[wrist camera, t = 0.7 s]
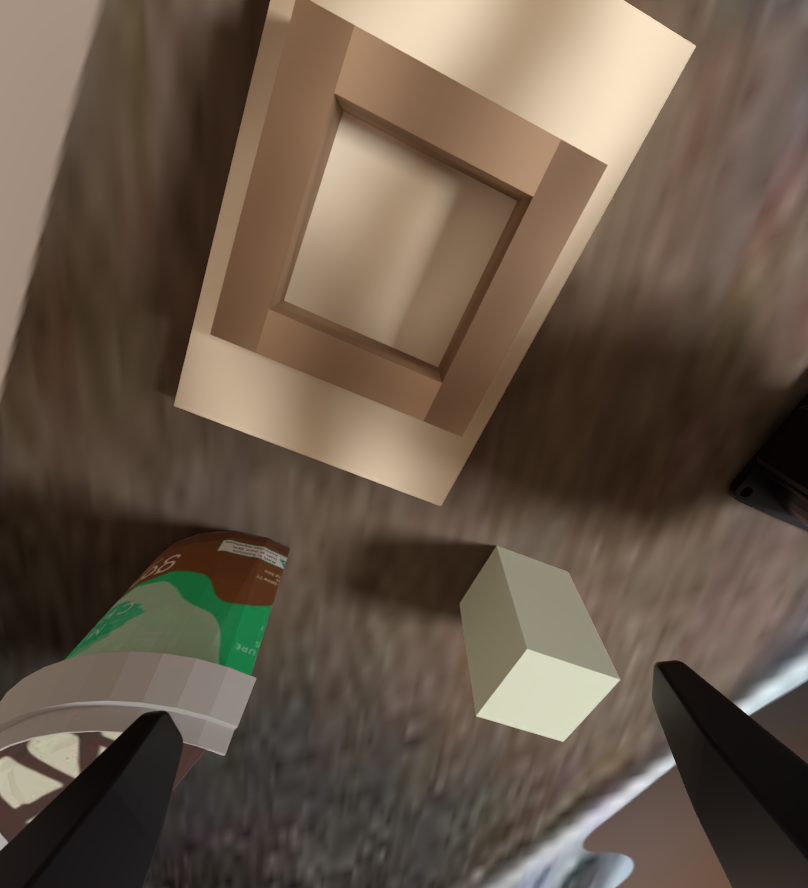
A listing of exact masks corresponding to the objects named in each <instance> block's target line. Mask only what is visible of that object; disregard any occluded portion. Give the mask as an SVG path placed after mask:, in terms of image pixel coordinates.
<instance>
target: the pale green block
mask: <svg viewBox="0 0 808 888" xmlns="http://www.w3.org/2000/svg"><path fill="white" fill-rule="evenodd" d="M459 605H460V612H461V619H462V625H463V632H464V639H465V645H466V652H467V659H468V666H469V672H470V679H471V686H472V692H473V699H474V706H475V713H476V716H478V717H481V718H484V719H488V720H491V721H495V722H498V723H501V724H505V725H508V726H512V727H515V728H518V729H522V730H525V731H528V732H532V733H535V734H539V735H542V736H545V737H549V738H552V739H556V740H559V741H562V742H564V740H565V739H566V738H567V737H568V736H569V735H570V734H571V733H572V732H573V731H574V730H575V728H576V727H577V726H578V725H579V724H580V723H581V722H582V721H583V720H584V719H585V718H586V716H587V715H588V714H589V713H590V712H591V711H592V710H593V709H594V708H595V707H596V706H597V705H598V703H599V702H600V701H601V700H602V699H603V698H604V697H605V696H606V695H607V694H608V693H609V691H610V690H611V689H612V688H613V687H614V686H615V685H616V684H617V683H618V682H619V681H620V678H619V676H618V674H617V672H616V670H615V668H614V666H613V663H612V661H611V659H610V657H609V655H608V653H607V651H606V649H605V647H604V645H603V643H602V641H601V639H600V637H599V635H598V632H597V630H596V628H595V626H594V624H593V622H592V620H591V618H590V616H589V614H588V612H587V610H586V608H585V606H584V604H583V601H582V599H581V597H580V595H579V593H578V591H577V589H576V587H575V585H574V583H573V581H572V579H571V577H570V575H569V572H567V571H564V570H562V569H559V568H556V567H553V566H551V565H548V564H545V563H543V562H540V561H537V560H534V559H532V558H529V557H526V556H524V555H521V554H518V553H515V552H513V551H510V550H507V549H505V548H502V547H499V546H496V547H495V549H494V550H493V552H492V554H491V555H490V557H489V558H488V560H487V561H486V563H485V564H484V566H483V568H482V569H481V571H480V572H479V574H478V575H477V577H476V578H475V580H474V582H473V583H472V585H471V586H470V588H469V589H468V591H467V593H466V594H465V596H464V597H463V599H462V600H461V602H460V603H459Z"/></svg>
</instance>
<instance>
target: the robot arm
mask: <svg viewBox="0 0 808 888" xmlns="http://www.w3.org/2000/svg"><path fill="white" fill-rule="evenodd" d="M744 488H746V489H745V490H744V491H743V492H741V491H742V490H743V489H744ZM729 493H730V495H732V496H733V497H734V498H735V499H737V500H738V501H739V502H742V503H744V504H746V505H749V506H751V507H753V508H756V509H758V510H760V511H763V512H765V513H767V514H770V515H772V516H774V517H777V518H779V519H781V520H783V521H786V522H788V523H790V524H793V525H795V526H797V527H800V528H802V529H804V530H807V531H808V394H807V395H806V397H805V398H804V399H803V400H802V401H801V402H800V404H799V405H798V406H797V407H796V408H795V410H794V411H793V412H792V413H791V414H790V415H789V417H788V418H787V419H786V420H785V421H784V422H783V424H782V425H781V426H780V427H779V428H778V430H777V431H776V432H775V433H774V434H773V435H772V437H771V438H770V439H769V440H768V441H767V443H766V444H765V445H764V446H763V447H762V448H761V450H760V451H759V452H758V453H757V454H756V455H755V457H754V458H753V459H752V460H751V461H750V463H749V464H748V465H747V466H746V467H745V468H744V470H743V471H742V472H741V473H740V474H739V476H738V477H737V478H736V479H735V480H734V481H733V483H732V484H731V485H730V487H729ZM652 700H653V704H654V707H655V710H656V713H657V715H658V718H659V720H660V723H661V726H662V728H663V731H664V733H665V736H666V739H667V741H668V744H669V746H670V749H671V752H672V754H673V757H674V759H675V762H676V765H677V767H678V770H679V772H680V775H681V778H682V780H683V783H684V785H685V788H686V791H687V793H688V796H689V798H690V801H691V803H692V805H693V808H694V810H695V812H696V814H697V817H698V819H699V821H700V823H701V825H702V827H703V829H704V831H705V833H706V835H707V837H708V839H709V841H710V844H711V846H712V848H713V850H714V852H715V854H716V856H717V858H718V860H719V862H720V864H721V866H722V868H723V870H724V872H725V874H726V876H727V878H728V880H729V882H730V884H731V886H732V888H808V764H807V763H806V762H805V761H803V760H802V759H801V758H800V757H799V756H797V755H796V754H795V753H794V752H792V751H791V750H790V749H789V748H787V747H786V746H785V745H784V744H783V743H781V742H780V741H779V740H778V739H776V738H775V737H774V736H773V735H772V734H770V733H769V732H768V731H766V730H765V729H764V728H763V727H762V726H760V725H759V724H758V723H757V722H756V721H754V720H753V719H752V718H751V717H749V716H748V715H747V714H746V713H745V712H743V711H742V710H741V709H740V708H738V707H737V706H736V705H735V704H733V703H732V702H731V701H730V700H729V699H727V698H726V697H725V696H724V695H722V694H721V693H720V692H719V691H718V690H716V689H715V688H714V687H713V686H711V685H710V684H709V683H708V682H706V681H705V680H704V679H703V678H702V677H700V676H699V675H698V674H697V673H695V672H694V671H693V670H692V669H691V668H689V667H688V666H687V665H686V664H684V663H683V662H680V661H677V660H673V661H663V662H657V663H656V664H655V665H654V669H653V682H652ZM182 750H183V737H182V735H181V733H180V731H179V729H178V728H177V726H176V724H175V723H174V721H173V719H172V718H171V716H170V714H169V713H168V712H167V711H164V710H162V711H152V712H146V713H144V714H142V715H141V716H140V717H138V718H137V719H136V720H135V721H134V722H133V723H132V724H131V725H130V726H129V727H128V728H127V729H126V730H125V731H124V732H123V733H122V734H121V735H120V736H119V737H118V738H117V739H116V740H114V741H113V742H112V743H111V744H110V745H109V746H108V747H107V748H106V749H105V750H104V751H103V752H102V753H101V754H100V755H99V756H98V757H97V758H96V759H95V760H94V761H93V762H92V763H91V764H90V765H89V766H87V767H86V768H85V769H84V770H83V771H82V772H81V773H80V774H79V775H78V776H77V777H76V778H75V779H74V780H73V781H72V782H71V783H70V784H69V785H68V786H67V787H66V788H65V789H64V790H63V791H62V792H60V793H59V794H58V795H57V796H56V797H55V798H54V799H53V800H52V801H51V802H50V803H49V804H48V805H47V806H46V807H45V808H44V809H43V810H42V811H41V812H40V813H39V814H38V815H37V816H36V817H34V818H33V819H32V820H31V821H30V822H29V823H28V824H27V825H26V826H25V827H24V828H23V829H22V830H21V831H20V832H19V833H18V834H17V835H16V836H15V837H14V838H13V839H12V840H11V841H10V842H9V843H7V844H6V845H5V846H4V847H3V848H2V849H1V850H0V888H143V885H144V882H145V880H146V877H147V874H148V871H149V868H150V865H151V862H152V859H153V856H154V853H155V850H156V847H157V844H158V841H159V837H160V834H161V830H162V827H163V823H164V819H165V815H166V812H167V808H168V804H169V800H170V796H171V793H172V789H173V785H174V781H175V777H176V773H177V770H178V766H179V762H180V758H181V754H182Z"/></svg>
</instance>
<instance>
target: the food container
mask: <svg viewBox="0 0 808 888" xmlns="http://www.w3.org/2000/svg"><path fill="white" fill-rule="evenodd" d="M289 551H290V548H288V547H286V546H284V545H282V544H280V543H277V542H275V541H273V540H271V539H269V538H265V537H260V536H255V535H251V534H246V533H241V532H237V531H228V532H203V533H200V534H197V535H194V536H191V537H188V538H185V539H183V540H180V541H177V542H175V543H174V544H173V545H171V546H170V547H169V548H167V549H166V550H165V551H163V552H162V553H161V554H160V555H159V556H158V557H157V558H156V559H155V560H154V561H153V563H152V564H151V565H150V566H149V567H148V568H147V569H146V570H145V571H144V573H143V574H142V575H141V576H140V577H139V578H138V579H137V580H136V581H135V582H134V584H133V585H132V586H131V587H130V588H129V589H128V590H127V591H126V592H125V593H124V595H123V596H122V597H121V598H120V599H119V600H118V601H117V602H116V603H115V605H114V606H113V607H112V608H111V609H110V610H109V611H108V612H107V613H106V614H105V616H104V617H103V618H102V619H101V620H100V621H99V622H98V623H97V624H96V625H95V627H94V628H93V629H92V630H91V631H90V632H89V633H88V634H87V635H86V637H85V638H84V639H83V640H82V641H81V642H80V643H79V644H78V645H77V646H76V648H75V649H74V650H73V651H72V652H71V653H70V654H69V655H68V656H67V657H66V659H65V660H64V661H61V662H58V663H55V664H52V665H49V666H46V667H44V668H42V669H40V670H38V671H36V672H35V673H33V674H31V675H29V676H27V677H25V678H23V679H22V680H21V681H20V682H19V683H18V684H16V685H15V686H14V687H13V688H12V689H10V690H9V691H8V692H7V693H6V695H5V696H4V697H3V699H2V700H1V702H0V850H1V849H2V848H3V847H4V846H5V845H6V844H7V843H9V842H10V841H11V840H12V839H13V838H14V837H15V836H16V835H17V834H18V833H19V832H20V831H21V830H22V829H23V828H24V827H25V826H26V825H27V824H28V823H29V822H30V821H31V820H32V819H33V818H34V817H36V816H37V815H38V814H39V813H40V812H41V811H42V810H43V809H44V808H45V807H46V806H47V805H48V804H49V803H50V802H51V801H52V800H53V799H54V798H55V797H56V796H57V795H58V794H59V793H60V792H62V791H63V790H64V789H65V788H66V787H67V786H68V785H69V784H70V783H71V782H72V781H73V780H74V779H75V778H76V777H77V776H78V775H79V774H80V773H81V772H82V771H83V770H84V769H85V768H86V767H87V766H89V765H90V764H91V763H92V762H93V761H94V760H95V759H96V758H97V757H98V756H99V755H100V754H101V753H102V752H103V751H104V750H105V749H106V748H107V747H108V746H109V745H110V744H111V743H112V742H113V741H114V740H116V739H117V738H118V737H119V736H120V735H121V734H122V733H123V732H124V731H125V730H126V729H127V728H128V727H129V726H130V725H131V724H132V723H133V722H134V721H135V720H136V719H137V718H138V717H140V716H141V715H142V714H144V713H146V712H152V711H162V710H164V711H167V712H168V713H169V714H170V716H171V718H172V719H173V721H174V723H175V724H176V726H177V728H178V729H179V731H180V733H181V735H182V737H183V750H182V754H181V758H180V762H179V766H178V770H177V773H176V777H175V781H174V785H173V789H172V791H173V790H174V789H175V787H176V786H177V785H178V784H179V782H180V781H181V780H182V779H183V777H184V776H185V775H186V774H187V772H188V771H189V770H190V769H191V768H192V767H193V765H194V764H195V763H196V762H197V761H198V760H199V758H200V757H201V756H202V755H203V754H204V753H205V752H206V750H209V751H212V752H215V753H217V754H220V755H223V756H225V754H226V752H227V749H228V746H229V743H230V740H231V738H232V735H233V732H234V730H235V729H236V728H237V727H238V724H239V722H240V719H241V717H242V714H243V711H244V709H245V706H246V704H247V701H248V699H249V696H250V693H251V691H252V688H253V686H254V683H255V681H256V678H255V677H252V676H251V673H252V670H253V667H254V664H255V660H256V657H257V654H258V651H259V648H260V644H261V641H262V638H263V635H264V631H265V628H266V625H267V622H268V619H269V615H270V612H271V609H272V606H273V602H274V599H275V596H276V593H277V589H278V586H279V583H280V580H281V577H282V573H283V570H284V567H285V564H286V560H287V557H288V554H289Z"/></svg>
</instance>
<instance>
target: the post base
mask: <svg viewBox="0 0 808 888" xmlns="http://www.w3.org/2000/svg"><path fill="white" fill-rule="evenodd" d="M695 47H696V46H695V45H694V44H692V43H690V42H689V41H687V40H686V39H684V38H683V37H681V36H679V35H678V34H676V33H675V32H673V31H671V30H670V29H668V28H667V27H665V26H663V25H662V24H660V23H659V22H657V21H655V20H654V19H652V18H651V17H649V16H648V15H646V14H644V13H643V12H641V11H640V10H638V9H636V8H635V7H633V6H632V5H630V4H628V3H627V2H625V1H624V0H270V4H269V8H268V12H267V16H266V21H265V25H264V29H263V33H262V37H261V42H260V46H259V50H258V54H257V58H256V63H255V67H254V71H253V75H252V79H251V84H250V88H249V92H248V96H247V100H246V105H245V109H244V113H243V117H242V121H241V126H240V130H239V134H238V138H237V142H236V147H235V151H234V155H233V159H232V163H231V168H230V172H229V176H228V180H227V184H226V189H225V193H224V197H223V201H222V206H221V210H220V214H219V218H218V222H217V227H216V231H215V235H214V239H213V243H212V248H211V252H210V256H209V260H208V264H207V269H206V273H205V277H204V281H203V285H202V290H201V294H200V298H199V302H198V306H197V311H196V315H195V319H194V323H193V327H192V332H191V336H190V340H189V344H188V348H187V353H186V357H185V361H184V365H183V369H182V374H181V378H180V382H179V386H178V390H177V395H176V399H175V403H174V406H175V407H178V408H181V409H183V410H186V411H189V412H191V413H194V414H197V415H199V416H202V417H205V418H207V419H210V420H213V421H215V422H218V423H221V424H223V425H226V426H228V427H231V428H234V429H236V430H239V431H242V432H244V433H247V434H250V435H252V436H255V437H258V438H260V439H263V440H266V441H268V442H271V443H274V444H276V445H279V446H282V447H284V448H287V449H290V450H292V451H295V452H298V453H300V454H303V455H306V456H308V457H311V458H314V459H316V460H319V461H321V462H324V463H327V464H329V465H332V466H335V467H337V468H340V469H343V470H345V471H348V472H351V473H353V474H356V475H359V476H361V477H364V478H367V479H369V480H372V481H375V482H377V483H380V484H383V485H385V486H388V487H391V488H393V489H396V490H399V491H401V492H404V493H407V494H409V495H412V496H414V497H417V498H420V499H422V500H425V501H428V502H430V503H433V504H436V505H438V506H442V504H443V502H444V500H445V498H446V496H447V495H448V493H449V491H450V489H451V487H452V486H453V484H454V482H455V480H456V478H457V477H458V475H459V473H460V471H461V469H462V468H463V466H464V464H465V462H466V460H467V459H468V457H469V455H470V453H471V451H472V450H473V448H474V446H475V444H476V442H477V441H478V439H479V437H480V435H481V433H482V431H483V430H484V428H485V426H486V424H487V422H488V421H489V419H490V417H491V415H492V413H493V412H494V410H495V408H496V406H497V404H498V403H499V401H500V399H501V397H502V395H503V394H504V392H505V390H506V388H507V386H508V385H509V383H510V381H511V379H512V377H513V376H514V374H515V372H516V370H517V368H518V366H519V365H520V363H521V361H522V359H523V357H524V356H525V354H526V352H527V350H528V348H529V347H530V345H531V343H532V341H533V339H534V338H535V336H536V334H537V332H538V330H539V329H540V327H541V325H542V323H543V321H544V320H545V318H546V316H547V314H548V312H549V311H550V309H551V307H552V305H553V303H554V302H555V300H556V298H557V296H558V294H559V292H560V291H561V289H562V287H563V285H564V283H565V282H566V280H567V278H568V276H569V274H570V273H571V271H572V269H573V267H574V265H575V264H576V262H577V260H578V258H579V256H580V255H581V253H582V251H583V249H584V247H585V246H586V244H587V242H588V240H589V238H590V237H591V235H592V233H593V231H594V229H595V227H596V226H597V224H598V222H599V220H600V218H601V217H602V215H603V213H604V211H605V209H606V208H607V206H608V204H609V202H610V200H611V199H612V197H613V195H614V193H615V191H616V190H617V188H618V186H619V184H620V182H621V181H622V179H623V177H624V175H625V173H626V172H627V170H628V168H629V166H630V164H631V162H632V161H633V159H634V157H635V155H636V153H637V152H638V150H639V148H640V146H641V144H642V143H643V141H644V139H645V137H646V135H647V134H648V132H649V130H650V128H651V126H652V125H653V123H654V121H655V119H656V117H657V116H658V114H659V112H660V110H661V108H662V107H663V105H664V103H665V101H666V99H667V98H668V96H669V94H670V92H671V90H672V88H673V87H674V85H675V83H676V81H677V79H678V78H679V76H680V74H681V72H682V70H683V69H684V67H685V65H686V63H687V61H688V60H689V58H690V56H691V54H692V52H693V51H694V49H695Z"/></svg>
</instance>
